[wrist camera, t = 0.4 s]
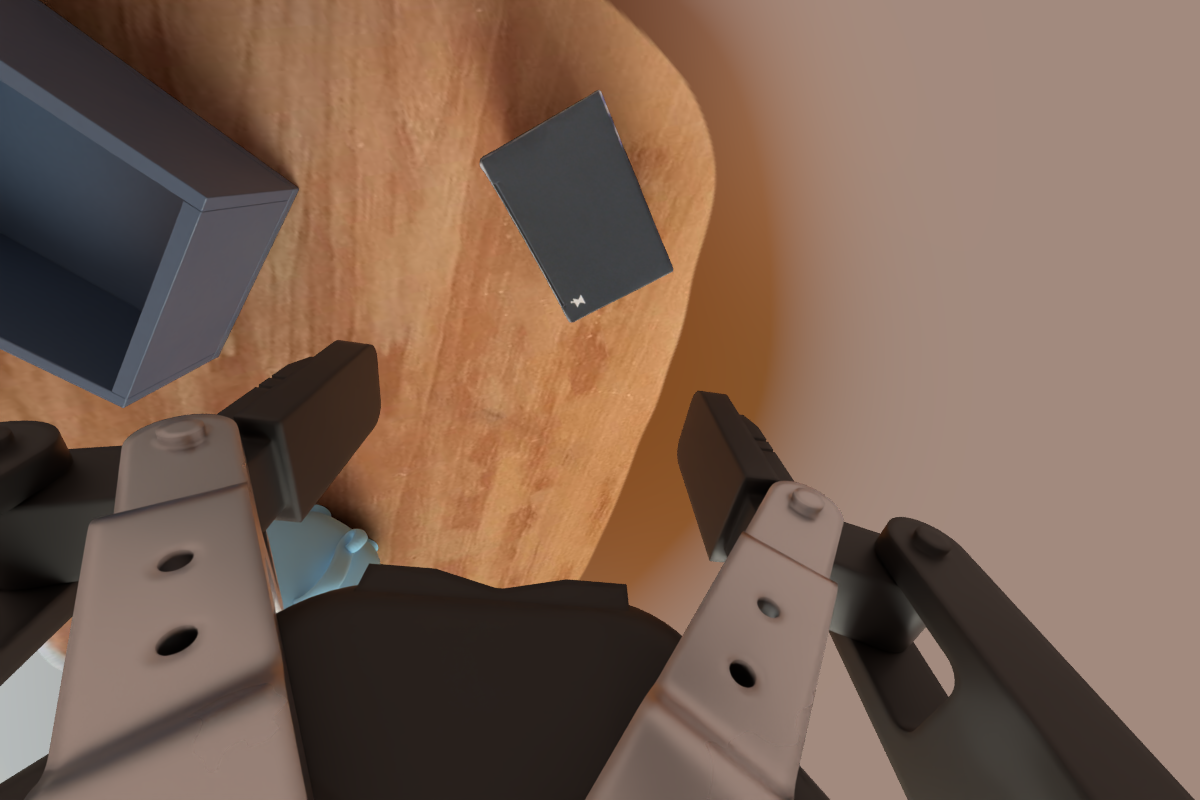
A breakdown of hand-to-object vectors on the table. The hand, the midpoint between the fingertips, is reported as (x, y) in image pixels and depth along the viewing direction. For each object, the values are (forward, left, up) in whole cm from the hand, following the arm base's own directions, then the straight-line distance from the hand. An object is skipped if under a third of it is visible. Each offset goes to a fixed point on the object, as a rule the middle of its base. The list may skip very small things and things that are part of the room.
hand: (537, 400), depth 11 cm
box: (-3, -1, -21) cm, 21 cm away
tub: (+15, -22, -21) cm, 34 cm away
